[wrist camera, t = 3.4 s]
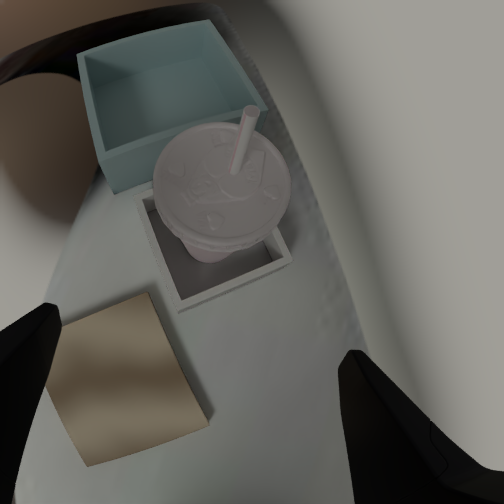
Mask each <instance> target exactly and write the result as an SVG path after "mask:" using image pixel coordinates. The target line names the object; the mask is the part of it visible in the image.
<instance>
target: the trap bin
mask: <svg viewBox="0 0 504 504" xmlns="http://www.w3.org/2000/svg"><path fill="white" fill-rule="evenodd" d="M77 60H78V66H79V72H80V78H81V84H82V89H83V95H84V100H85V105H86V110H87V115H88V119H89V124H90V129H91V133H92V137H93V141H94V146H95V150H96V154H97V158H98V161H99V164H100V166H101V168H102V170H103V173H104V175H105V177H106V179H107V181H108V183H109V185H110V187H111V189H112V191H113V193H114V194H117V193H119V192H122V191H124V190H127V189H129V188H132V187H135V186H137V185H140V184H142V183H145V182H148V181H150V180H153V173H154V169H155V165H156V162H157V160H158V157H159V155H160V154H161V152H162V150H163V149H164V148H165V146H166V145H167V144H168V143H169V142H170V141H171V140H172V139H173V138H174V137H176V136H177V135H178V134H180V133H181V132H183V131H185V130H187V129H189V128H191V127H194V126H197V125H200V124H204V123H210V122H229V123H235V124H239V125H240V121H241V118H242V114H243V110H244V108H245V107H246V106H248V105H253V106H256V107H257V108H258V109H259V110H260V115H259V117H258V120H257V123H256V126H255V129H254V130H255V131H257V132H258V133H260V131H261V129H262V126H263V123H264V121H265V118H266V116H267V113H268V110H269V109H268V108H267V106H266V104H265V103H264V101H263V100H262V98H261V96H260V95H259V93H258V92H257V90H256V88H255V87H254V85H253V84H252V82H251V80H250V79H249V77H248V76H247V74H246V73H245V71H244V70H243V68H242V67H241V65H240V63H239V62H238V60H237V59H236V57H235V56H234V54H233V53H232V51H231V50H230V48H229V47H228V46H227V44H226V43H225V41H224V40H223V38H222V37H221V35H220V34H219V32H218V31H217V30H216V28H215V27H214V25H213V24H212V23H211V21H210V20H203V21H197V22H192V23H186V24H181V25H176V26H171V27H166V28H162V29H158V30H153V31H149V32H145V33H142V34H138V35H134V36H131V37H127V38H124V39H120V40H117V41H114V42H111V43H107V44H104V45H101V46H98V47H95V48H93V49H90V50H87V51H84V52H82V53H79V54H77Z"/></svg>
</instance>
